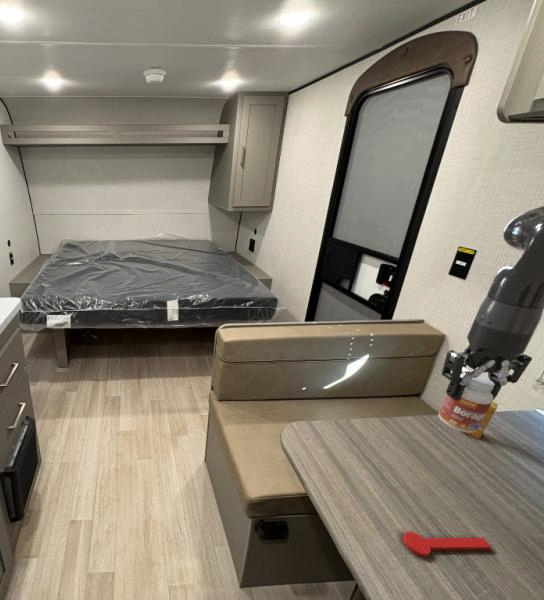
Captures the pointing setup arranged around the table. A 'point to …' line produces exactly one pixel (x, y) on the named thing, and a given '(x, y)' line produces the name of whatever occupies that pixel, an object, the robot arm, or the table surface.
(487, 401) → the pill bottle
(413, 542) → the spoon
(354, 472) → the table surface
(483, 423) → the supplement box
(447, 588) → the table surface
